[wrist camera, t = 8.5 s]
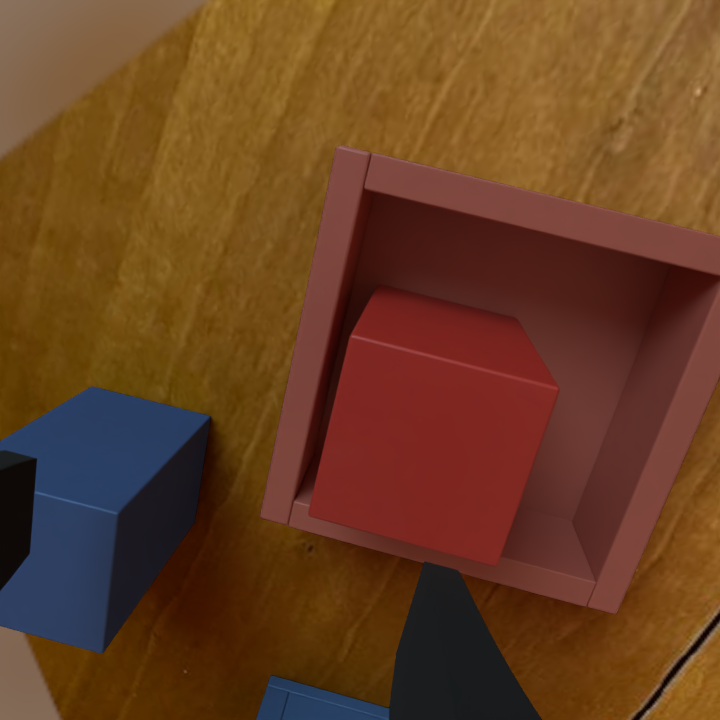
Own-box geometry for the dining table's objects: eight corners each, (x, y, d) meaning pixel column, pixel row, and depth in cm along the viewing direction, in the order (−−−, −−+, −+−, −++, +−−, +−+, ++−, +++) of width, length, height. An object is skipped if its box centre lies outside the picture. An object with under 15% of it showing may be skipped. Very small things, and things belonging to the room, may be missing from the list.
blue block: (81, 493, 21) (-53, 612, 15) (91, 385, 20) (-51, 469, 14) (195, 523, 21) (102, 655, 15) (211, 415, 19) (118, 513, 14)
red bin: (288, 461, 19) (258, 519, 16) (355, 151, 17) (336, 144, 13) (584, 540, 19) (617, 616, 16) (706, 236, 16) (777, 249, 13)
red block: (346, 411, 18) (306, 517, 12) (377, 282, 17) (349, 333, 11) (477, 446, 18) (497, 569, 12) (518, 317, 17) (562, 388, 11)
